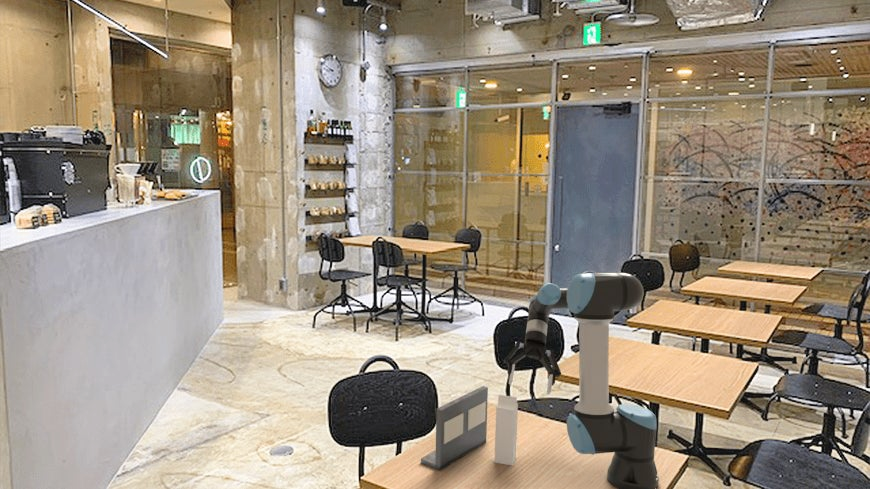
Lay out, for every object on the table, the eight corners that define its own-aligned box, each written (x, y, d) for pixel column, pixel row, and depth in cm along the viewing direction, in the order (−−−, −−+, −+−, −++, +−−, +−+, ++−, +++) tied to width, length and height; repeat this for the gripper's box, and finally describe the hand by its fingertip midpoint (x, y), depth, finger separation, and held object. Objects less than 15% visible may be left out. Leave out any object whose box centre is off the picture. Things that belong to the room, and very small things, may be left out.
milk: (498, 454, 209) (500, 391, 206) (516, 457, 207) (518, 393, 204) (494, 463, 203) (496, 397, 200) (512, 466, 201) (514, 400, 198)
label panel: (486, 442, 217) (488, 387, 215) (441, 471, 197) (442, 410, 194) (467, 435, 222) (468, 381, 220) (420, 462, 202) (421, 403, 199)
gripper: (565, 348, 230) (561, 401, 217) (500, 331, 230) (492, 383, 217) (572, 338, 224) (568, 392, 211) (505, 321, 224) (497, 373, 211)
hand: (529, 387), depth 214 cm, fingers open, 13 cm apart
